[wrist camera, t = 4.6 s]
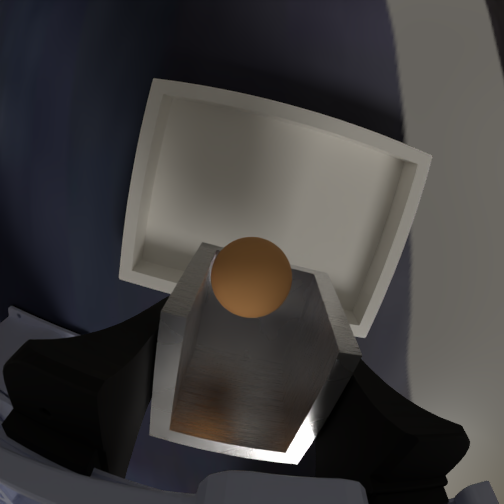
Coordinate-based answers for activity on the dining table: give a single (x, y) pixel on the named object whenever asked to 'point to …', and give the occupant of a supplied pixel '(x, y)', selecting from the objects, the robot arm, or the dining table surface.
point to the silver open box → (249, 367)
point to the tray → (268, 191)
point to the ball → (251, 277)
